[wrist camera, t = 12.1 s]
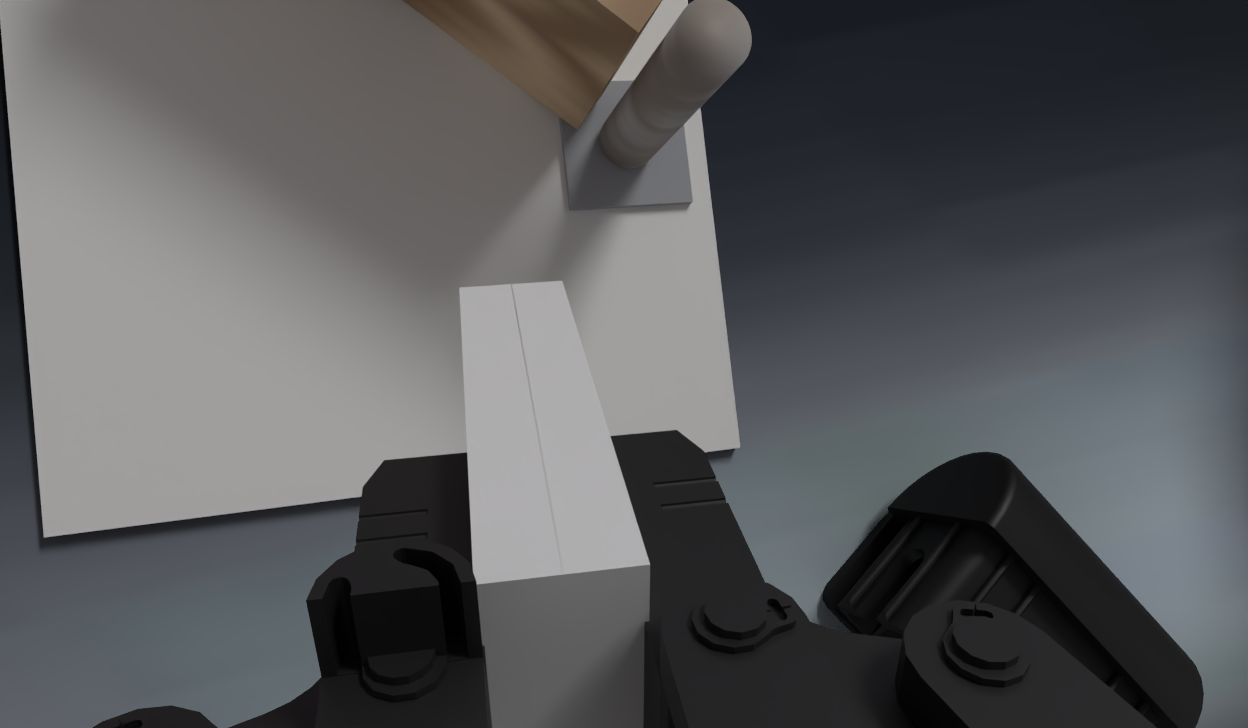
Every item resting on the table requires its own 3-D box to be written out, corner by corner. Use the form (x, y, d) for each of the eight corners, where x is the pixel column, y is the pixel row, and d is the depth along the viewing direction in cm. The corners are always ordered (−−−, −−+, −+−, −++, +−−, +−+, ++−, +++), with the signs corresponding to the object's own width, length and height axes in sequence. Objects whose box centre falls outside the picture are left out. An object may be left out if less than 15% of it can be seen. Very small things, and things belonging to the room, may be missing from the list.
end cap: (1091, 626, 37) (1244, 668, 30) (983, 769, 35) (1120, 846, 29) (925, 446, 35) (1048, 449, 29) (806, 586, 34) (906, 623, 27)
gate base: (666, -148, 34) (671, -160, 34) (736, 447, 33) (743, 448, 33) (-12, -178, 29) (-22, -192, 28) (48, 536, 28) (40, 538, 27)
